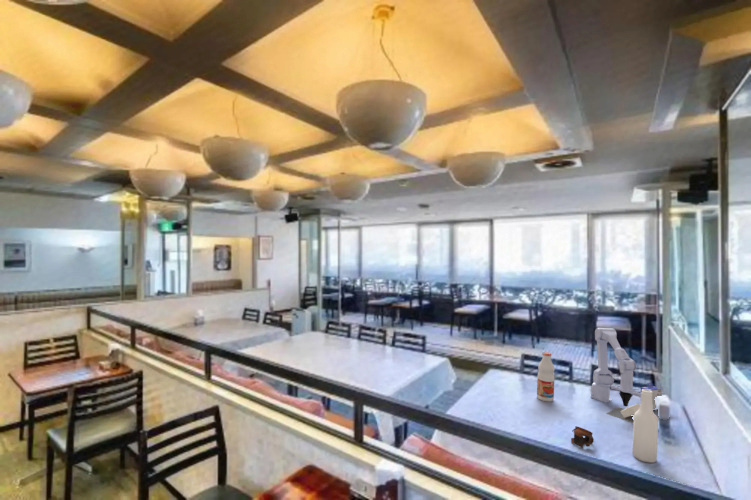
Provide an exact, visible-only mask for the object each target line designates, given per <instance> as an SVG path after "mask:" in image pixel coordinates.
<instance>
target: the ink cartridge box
mask: <svg viewBox="0 0 751 500" xmlns="http://www.w3.org/2000/svg"><path fill="white" fill-rule="evenodd" d="M646 385H647V386H642V387H641V386H640V393H641V392H642V391H641V390H642V389H648V390H651V391H652V392H653V393H652V405H653V409H655V408H656V405H655V400H654V399H655V397H657V396H662V397H663V389H662V388H660V387H657V386H654V385H653V383H652V382H647V383H646Z"/></svg>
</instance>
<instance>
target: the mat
mask: <svg viewBox="0 0 751 500" xmlns="http://www.w3.org/2000/svg"><path fill="white" fill-rule="evenodd" d="M624 409H625V408H623V407H620V406H617V407H615V408H613V409H612V410H609V411H608V412H606V414H607V415H609V416H612V417H615V418H618V419H621V420H624V421H627V422H628V423H629V422H630V423H632V424H634V420H633V419H632V417H633V416H629V417H626V418H624V417H623V415H622V414H621V412H620V411H622V410H624Z"/></svg>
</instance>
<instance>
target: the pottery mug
mask: <svg viewBox="0 0 751 500" xmlns="http://www.w3.org/2000/svg"><path fill="white" fill-rule="evenodd" d="M571 432H573V437H570V439H571V440H570V443H571V444H574V445H576V446H578V447H580V448H582V449H583V448H584V446H586V447H590V446H591V445H592V444H593V443H594V440H595V439H594V437H593V432H591V431H590V430H588V429H586V428H583V427H581V426H575V427H574V429H572V430H571Z"/></svg>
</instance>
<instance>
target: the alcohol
mask: <svg viewBox="0 0 751 500" xmlns="http://www.w3.org/2000/svg"><path fill="white" fill-rule="evenodd" d="M641 391H642V392H641ZM640 393H642V395H641V398H640V404H639V405H640V408H639V410H638V411H636V412H635V414H634V423H632V424H633V427H632V428H633V429H632V450H631V451H632V452H631V453H632V455H633V457H634V458H635V459H637V460H638V461H640V462H644V463H648V464H649V463H650V464H654V463H655V462H657V460H658V459H657V458H658V441H659V440H658V437H659V436H658V435H659V419H658V416H657V415H656V414H655V413H654V411H653V405H652V393H653V392H652V391H651V390H648V389H642V390H641V389H640Z"/></svg>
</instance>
